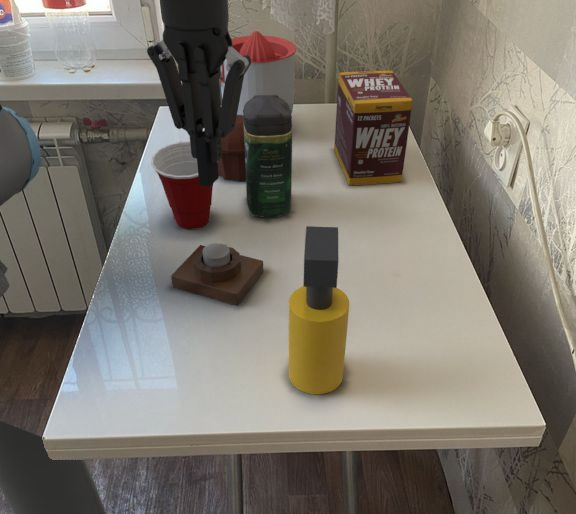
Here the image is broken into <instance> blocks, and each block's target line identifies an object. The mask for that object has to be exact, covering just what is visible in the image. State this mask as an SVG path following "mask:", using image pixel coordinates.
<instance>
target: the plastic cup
mask: <svg viewBox="0 0 576 514" xmlns="http://www.w3.org/2000/svg"><path fill="white" fill-rule="evenodd" d="M217 162H218V161H217ZM150 165H151V167H152V168H153V170H154V171H155V173H156V174H157V175H158V178H159V180H160V182H161V185H162V188H163V190H164V194H165V197H166V199H167V202H168V205H169V207H170V209H171V212H172V215H173V219H174V221H175V222H176V224H177V226H178V227H179V228H181V229H185V230H199V229H202V228H204V227H205V226H207V225H208V224H209V223H210V218H211V206H212V200H213V191H214V190H213V189H214V183H213V184H212V185H211V186H210V187H207V186H202V185H199V176H198V166H197V159H196V158H193V157H192V154H191V145H190V140H189V141H188V140H187V141H179V142H178V141H177V142H173V143H169V144H166V145H165V146H163V147H161V148H158V149H157V150H156V151H155V152H154V154H152V156H151V159H150Z"/></svg>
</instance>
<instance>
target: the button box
mask: <svg viewBox="0 0 576 514" xmlns="http://www.w3.org/2000/svg"><path fill="white" fill-rule="evenodd" d="M206 246H207V245H202V244H200V245H199V246H198V247H197V248H196V249H195V250H194V251H193V252H192V253H191V254H190V255H189V256H188V257H187V258H186V259H185V260H184V261H183V262H182V263H181V265H180V266H179V267H177V269H176V270H175V271H174V272H173V273H172V274H171V275H170V280H171V286H172V289H176V290H180V291H183V292H186V293H187V292H188V293H191V294H194V295H198V296H201V297H205V298H208V299H212V300H216V301H220V302H223V303H226V304H229V305H233V306H237V307H238V306H239V305H240V304H241V303H242V301H243V300H244V298H245V297H246V296H247V295H248V293H249V292H250V291H251V290H252V288H253V287H254V285H256V283H257V282H258V281H259V279H260V278H261V277H262V275H263V274H264V272H265V271H264V270H265V269H264V268H265V267H264V260H262V259H258V258H254V257H251V256H246V255H243V254H242V255H241V254H240V252H239V251H237V250H236V249H235V248H234V247H232V246H228V247H229V249H230V263H229V264H227V265H225V266H223V267H209V266H206V265H205V264H204V261H203V249H204V248H205V247H206Z"/></svg>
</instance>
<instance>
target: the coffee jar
mask: <svg viewBox="0 0 576 514" xmlns="http://www.w3.org/2000/svg"><path fill="white" fill-rule="evenodd" d="M243 115H244V120H243V122H244V143H245V167H246V180H245V189H246V190H245V191H246V203H247V205H246V206H247V208H248V211H249V212H250V214H251V215H252V216H255V217H261V218H265V219H272V218H273V219H275V218H279V217H281V216H285V215H287V214H289V213H290V211H291V209H292V177H293V176H292V174H293V172H292V171H293V115H292V114H291V110H290V107H289V105H288V103H287V102H285V101H284V100H283V99H281V98H279V97H278V96H277V95H255V96H253V98H251V99H250V100H249V101H247V102H246V104H245V105H244V109H243Z"/></svg>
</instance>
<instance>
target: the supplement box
mask: <svg viewBox="0 0 576 514" xmlns="http://www.w3.org/2000/svg"><path fill="white" fill-rule="evenodd" d="M336 95H337V96H336V110H335V111H336V113H335V129H334V149H333V151H334V153H335V155H336V158H337V160H338V163H339V166H340V167H341V170H342V173H343V175H344V177H345V180H346V183H347V185H348V186H361V185H362V186H364V185H377V184H379V185H380V184H394V183H402V181H403V174H404V166H405V160H406V152H407V145H408V136H409V130H410V121H411V115H412V107H413V101H414V100H413V99H412V97H411V96H410V94H409V93H408V92H407V90H406V89H405V88H404V86H403V83H401V82H400V80H399V79H398V77H397V76H396V75H395V73H394V71H393V70H365V71H364V70H363V71H344V72H342V71H340V72H338V79H337V94H336Z"/></svg>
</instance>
